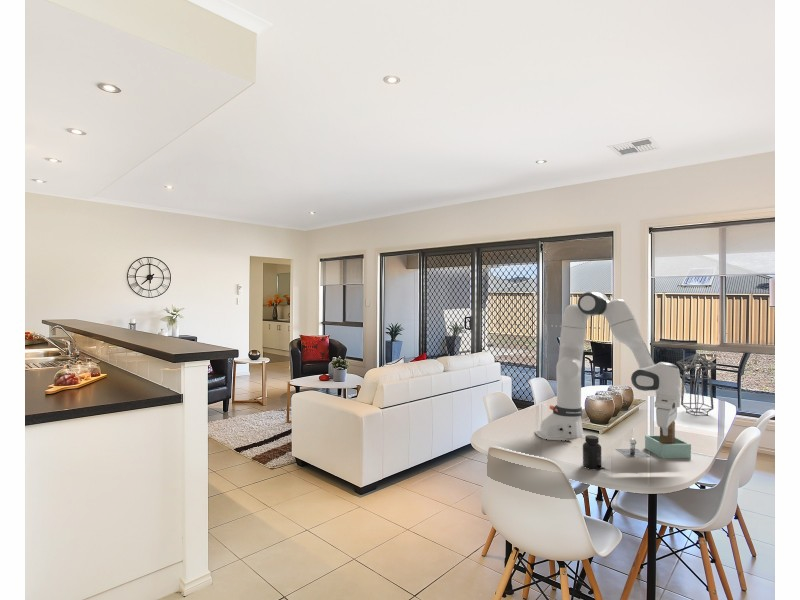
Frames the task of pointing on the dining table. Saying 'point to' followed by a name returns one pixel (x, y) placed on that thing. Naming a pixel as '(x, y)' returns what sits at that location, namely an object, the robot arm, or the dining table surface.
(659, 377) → the robot arm
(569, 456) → the dining table surface
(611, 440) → the dining table surface
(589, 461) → the supplement bottle
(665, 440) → the walnut strut
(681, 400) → the geometric lantern
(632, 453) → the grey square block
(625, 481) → the dining table surface
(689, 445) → the sage bin
